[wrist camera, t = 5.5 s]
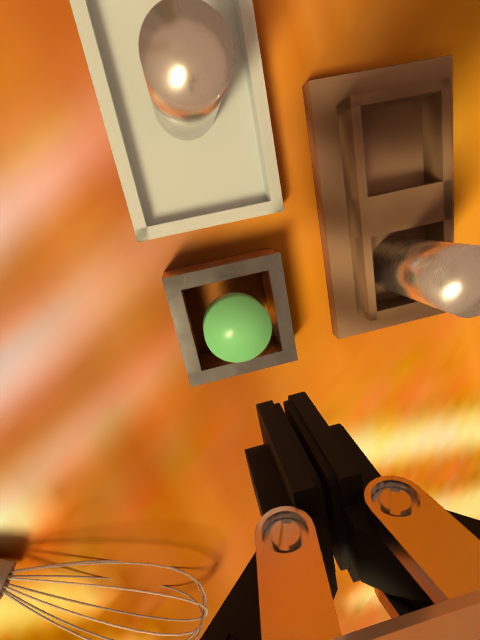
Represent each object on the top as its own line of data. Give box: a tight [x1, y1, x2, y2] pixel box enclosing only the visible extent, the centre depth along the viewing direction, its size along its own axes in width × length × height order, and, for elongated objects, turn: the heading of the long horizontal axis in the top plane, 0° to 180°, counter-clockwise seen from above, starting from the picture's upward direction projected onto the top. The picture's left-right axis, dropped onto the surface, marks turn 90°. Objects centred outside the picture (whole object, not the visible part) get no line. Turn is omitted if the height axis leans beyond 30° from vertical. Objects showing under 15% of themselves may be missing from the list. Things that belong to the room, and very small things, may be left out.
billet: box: [138, 0, 234, 140], centre depth 19 cm, size 4×4×8 cm
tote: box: [70, 0, 284, 242], centre depth 23 cm, size 15×10×2 cm, turn 11°
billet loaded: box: [372, 237, 480, 318], centre depth 24 cm, size 4×4×8 cm
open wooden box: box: [162, 248, 298, 387], centre depth 26 cm, size 8×8×3 cm
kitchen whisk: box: [0, 559, 208, 640], centre depth 28 cm, size 6×34×6 cm, turn 70°
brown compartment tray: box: [303, 55, 454, 339], centre depth 26 cm, size 18×10×3 cm, turn 11°
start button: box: [203, 292, 272, 363], centre depth 25 cm, size 4×4×4 cm
